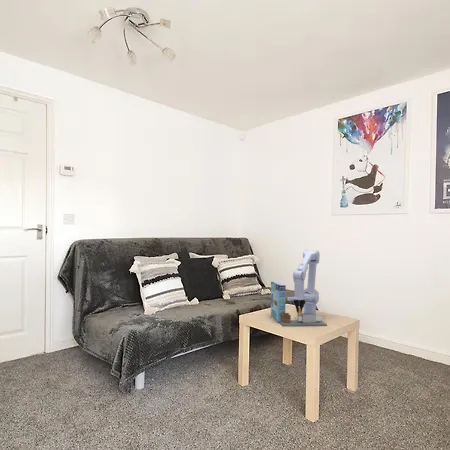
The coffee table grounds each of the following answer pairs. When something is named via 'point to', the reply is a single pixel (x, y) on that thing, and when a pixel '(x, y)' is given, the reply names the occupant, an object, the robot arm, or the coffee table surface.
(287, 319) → the socket
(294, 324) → the base board
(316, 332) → the coffee table surface
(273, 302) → the gum box
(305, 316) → the sleeve
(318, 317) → the blocks
